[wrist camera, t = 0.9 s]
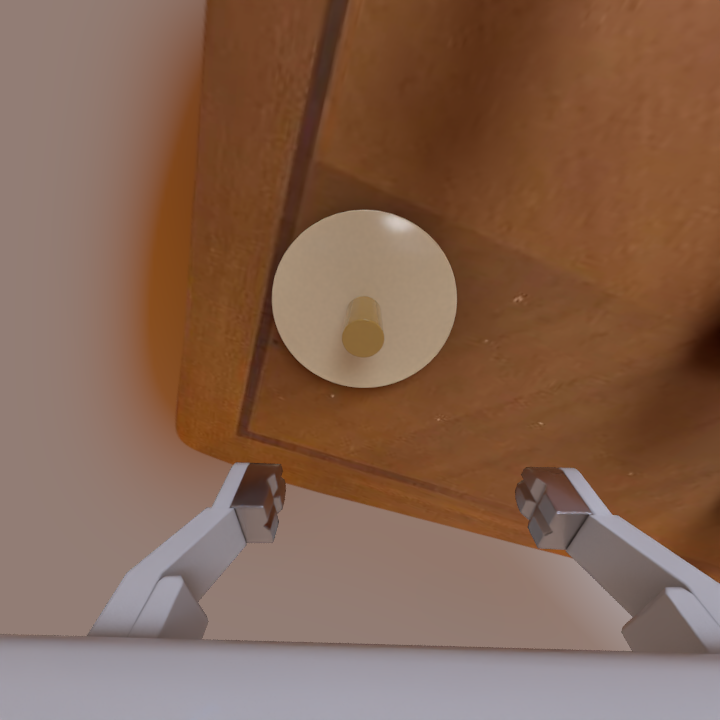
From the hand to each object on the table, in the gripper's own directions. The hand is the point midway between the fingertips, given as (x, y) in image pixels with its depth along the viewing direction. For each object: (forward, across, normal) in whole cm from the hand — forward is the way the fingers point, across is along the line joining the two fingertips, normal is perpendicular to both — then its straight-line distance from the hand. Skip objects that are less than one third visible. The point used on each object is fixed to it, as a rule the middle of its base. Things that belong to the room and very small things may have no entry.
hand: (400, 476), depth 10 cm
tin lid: (+14, +1, -1) cm, 14 cm away
